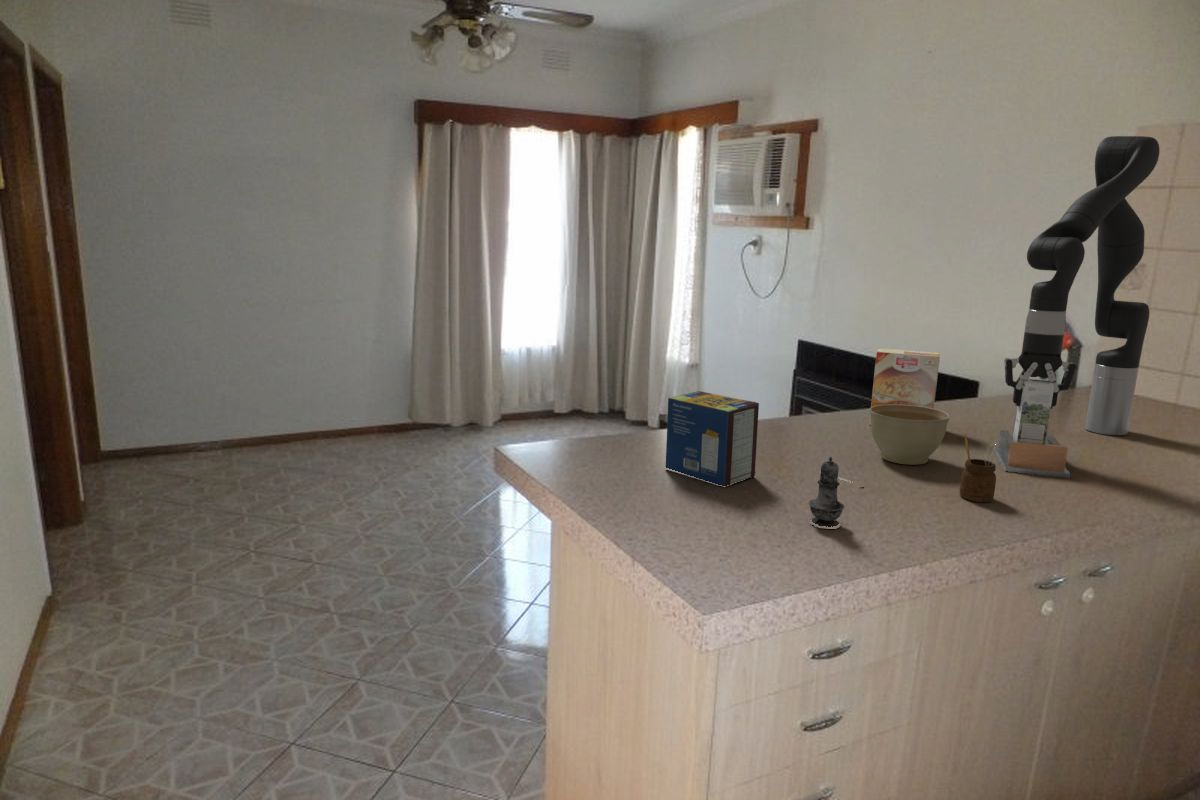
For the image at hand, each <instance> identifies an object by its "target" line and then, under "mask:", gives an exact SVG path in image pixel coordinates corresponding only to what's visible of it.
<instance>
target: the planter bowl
mask: <svg viewBox="0 0 1200 800" xmlns="http://www.w3.org/2000/svg"><path fill="white" fill-rule="evenodd" d="M869 414H870V415H871V418H870V417H869V422H870V424H871V426H870V430H871V434H872V438H873V440H874V442H875V444H876V446H877V448H878V449H879V451H880V456H881V458H882V459H883V460H885V461H888V462H891V463H894V464H897V463H898V464H900V465H910V466H912V465H913V466H914V465H915V466H917V465H924V464H926V463H928V460H929V458H930V457H931V455H932V454H933V453H934V452H936V450H937V449H938V448H939V446H940V445H941V443H942V441H943V440H944V437H945V435H946V432H947V426H948V422H949V420H950V415H949V414H948V413H947V412H945V411H942V410H939V409H935V408H934V409H932V408H927V407H921V406H911V405H892V404H890V405H877V406H873V407H871V406H870V409H869ZM870 415H869V416H870Z"/></svg>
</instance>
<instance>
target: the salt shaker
mask: <svg viewBox="0 0 1200 800" xmlns="http://www.w3.org/2000/svg"><path fill="white" fill-rule="evenodd" d="M839 469H840V467H839V465H838V463H836V462H834V461H833V458H832V456H829V457H828V460H827V461H824V462H823V463H822V464H821V465H820V471H821V473H819V474H820V475H819V480H817V484H818V493H817V496H816V498H813V499H811V500H809V501H808V504H809V506H810V512H811V514H812V515H813V516H814V517H812V518H811V519H812V522H813V523H815V524H818V525H819V526H826V527H827V526H828V527H831V526H832V527H833V526H837V525H838V524H839V523H840V522H839V521H838V520H837V519H838V518H840V517H841V515H842V513H843V510H844V509H845V504H844V503H842V502H841V501H838V487H839V486H840V483H841V482H839V481H838V477H839Z"/></svg>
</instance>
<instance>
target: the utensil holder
mask: <svg viewBox="0 0 1200 800" xmlns="http://www.w3.org/2000/svg"><path fill="white" fill-rule="evenodd" d="M964 443H965V444H964V445H965V450H966V454H967V459H966V460H965V463H964V469H963V470H962V472H961V478H960V484H959V496H960V497H961V498H962V497H963V499H964V498H965V499H964V500H966V499H968V500H967V501H969V500H971V501H970V502H973V501H976V502H975V503H982V502H985V503H990V502H992V501H993V500H994V497H995V491H996V485H997V475H996V473H995V471H996V467H997V466H996V464H995V462H997V461H998V459H996V458H998V457H999V456H998V457H997V455H996V456H995V458H994V460H993V461H991V459H992V456H993V453H994V452H995V451H994V448H995V447H994V445H995V446H998V444H997V443H989V446H987V448H986V449H985V451H987V452H989V450H990V448H991V447H992V446H993V450H992V453H991V455H990V458H989V460H987V458H988V457H987V456H988V453H985V454H984V456H983V457H984V459H980V458H971V456H970V446H969V441H968V436H967V433H965V434H964ZM988 447H989V448H988ZM998 451H999V450H998ZM1000 451H1001V449H1000ZM997 454H998V453H997ZM999 454H1000V453H999Z"/></svg>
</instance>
